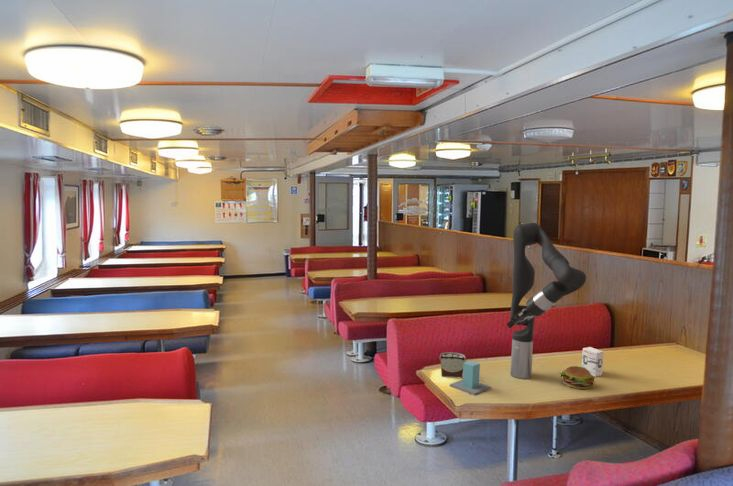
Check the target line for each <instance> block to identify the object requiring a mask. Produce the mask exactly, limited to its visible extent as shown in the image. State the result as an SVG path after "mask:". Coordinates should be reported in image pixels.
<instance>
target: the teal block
mask: <svg viewBox="0 0 733 486" xmlns="http://www.w3.org/2000/svg"><path fill="white" fill-rule="evenodd" d="M480 368H481V364H480V363H479V362H477V361H473V360H468V361H465V363H464V364H463V376H462V380H463V386H466V387H469V388H471V389H472V388H475V387H477V386H479V383H480Z"/></svg>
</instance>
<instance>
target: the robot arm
mask: <svg viewBox="0 0 733 486" xmlns="http://www.w3.org/2000/svg"><path fill="white" fill-rule="evenodd" d="M512 234H513V235H512V236H513V237H512V238H513V240H512V241H513V242H512V243H513V268H512V269H513V270H512V271H513V272H512V294H511V297H512V298H511V305H510V306H511V307H510V313H509V314H510V315H509V318H510V320H509V321H508V322H507V323H506V326H507V327H508V329H512V328H513V327H514V326H515V325H516V326H525V328H522V329H520V330H516V331H513V333H512V335H511V336H512V337H511V339H512V340H511V354H510V355H511V356H510V370H509V371H510V373H509V374H510V376H512V377H513V378H517V379H522V380H523V379H525V380H526V379H530V378H532V377H531V376H532V373H533V372H532V371H533V370H532V369H533V347H534V346H533V345H534V327H535V319H536V317H541V316H543V314H545V313H546V312H547V311H548V310H550V308H552V307H553V306H554V305H555V304H556V303H557V302H559V301H560V300H561V299H562V298H563V297H565V296H568V295H570V294H571V293H574V292H576V291H578V290H580V289H581V288H582V287H583V286H584V285H585V284H586V280H587V275H586V273H585V272H584V271H582V270H581V269H577V268H576V267H575V268H574V267H572V266H570V262H569V260H568V258H567V257H566V256H564V255H563V254H562V253H561V252H560V251H559V250H558V249H557V248H556V246H555V245H554V244H553V242H552V241H551V240H550V238H549V236H548V235H547V234H546V232H545V230H544V229H543V228H542V227H541V225H540V224H538V223H537V222H529V223H524V224H519V225H516V226H515V227H514V229H513V233H512ZM532 245H539V246H540V247H541V258H542V261H543V263H544V264H545V265H546V266H547V267H548V268H549V269H550V270H551V271H552V273H553V275H554V277H555V278H556V281H555V280H554V281H551V282H549V283H548V284H547V285H545V286H544V287H542V288H541V289H540V290H538V292H536V293H535V294H534V295H532V297H530V298H529V299H528V300H527V301H526V305H524V304H523V305H521V304H520V303H521V301H522V299H523V298H524V297H525V296H527V294H528V293H529V292H530V291H531V290H532V288H533V287H534V285H535V276H536V272H535V268H534V266H533V264H532V263H531V262H530V260H529V259H528V257H527V255H526V248H527V247H528V246H532Z"/></svg>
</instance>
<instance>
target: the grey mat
mask: <svg viewBox="0 0 733 486" xmlns="http://www.w3.org/2000/svg"><path fill="white" fill-rule="evenodd" d="M449 387H451V388H453V389H457V390H459V391H461V392H465V393H467V394H469V395H473V396H476V395H478V394H480V393H483V392H485V391H488V390H490V389H492V386H490V385H487V384H484V383H482V382H479V386H477V387H475V388H472V389H471V388H469V387H466V386H463V379H461V380H458V381H455V382H452V383H449Z"/></svg>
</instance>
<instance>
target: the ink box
mask: <svg viewBox="0 0 733 486" xmlns="http://www.w3.org/2000/svg"><path fill="white" fill-rule="evenodd" d="M603 365H604V351H603V350H600V349H597V348H594V347H592V346H588V347H583V348H582V353H581V366H580V367H582V368H585V369H587V370H588V371H589V372H590V373H591V375H593V376H595V378H596V376H597V377H601V375H602V376H603Z"/></svg>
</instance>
